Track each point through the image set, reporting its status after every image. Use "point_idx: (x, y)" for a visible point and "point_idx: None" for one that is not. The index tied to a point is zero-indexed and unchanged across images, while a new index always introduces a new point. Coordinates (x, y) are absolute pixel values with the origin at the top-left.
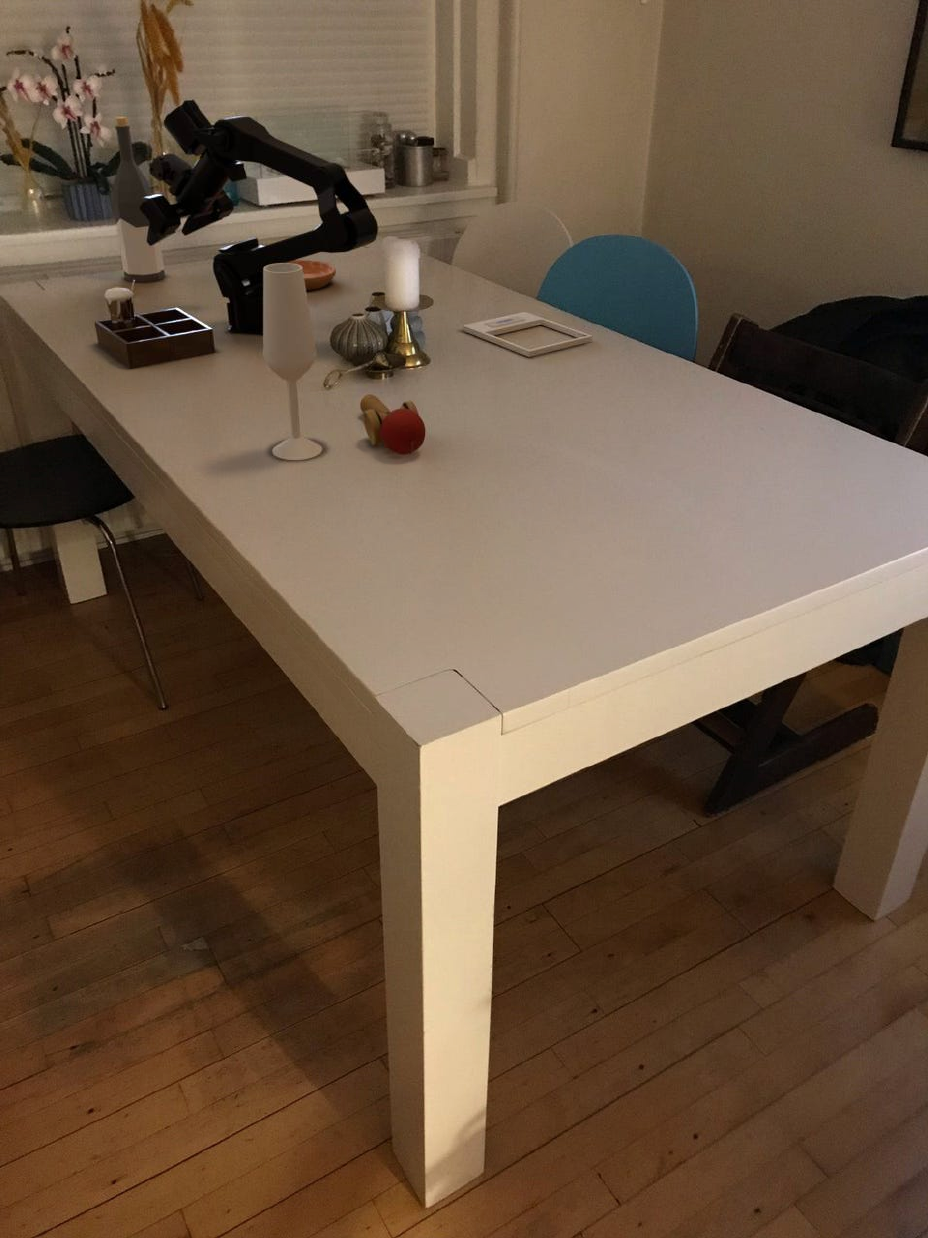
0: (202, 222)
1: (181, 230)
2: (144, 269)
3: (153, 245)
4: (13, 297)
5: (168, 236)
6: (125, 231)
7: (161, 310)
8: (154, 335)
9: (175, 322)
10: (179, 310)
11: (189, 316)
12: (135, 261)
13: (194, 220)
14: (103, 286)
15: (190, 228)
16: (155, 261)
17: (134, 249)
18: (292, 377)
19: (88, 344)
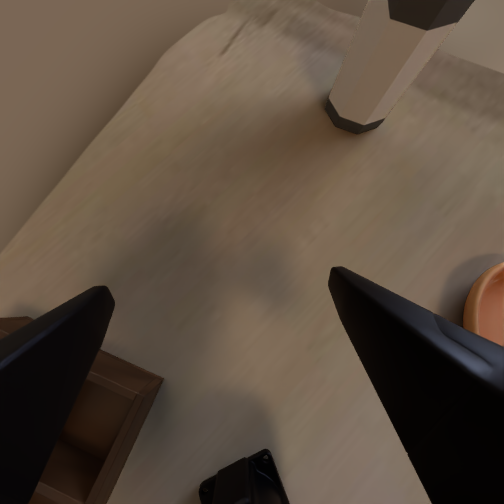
0: (409, 433)
1: (332, 269)
2: (346, 110)
3: (392, 79)
4: (173, 49)
5: (32, 492)
6: (368, 13)
7: (109, 381)
8: None
9: (42, 493)
10: (127, 420)
11: (95, 488)
12: (344, 88)
13: (393, 367)
14: (282, 97)
15: (352, 325)
16: (373, 108)
17: (356, 66)
18: None
19: (23, 300)
